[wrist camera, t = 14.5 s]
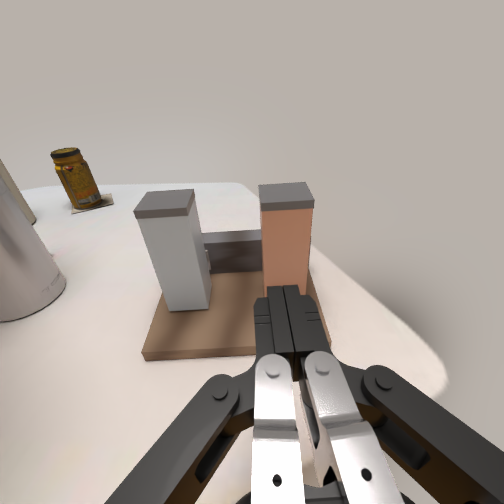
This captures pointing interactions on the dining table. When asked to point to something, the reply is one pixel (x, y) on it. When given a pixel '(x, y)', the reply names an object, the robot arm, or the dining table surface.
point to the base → (218, 304)
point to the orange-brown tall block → (285, 233)
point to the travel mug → (16, 193)
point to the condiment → (78, 180)
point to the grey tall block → (176, 247)
